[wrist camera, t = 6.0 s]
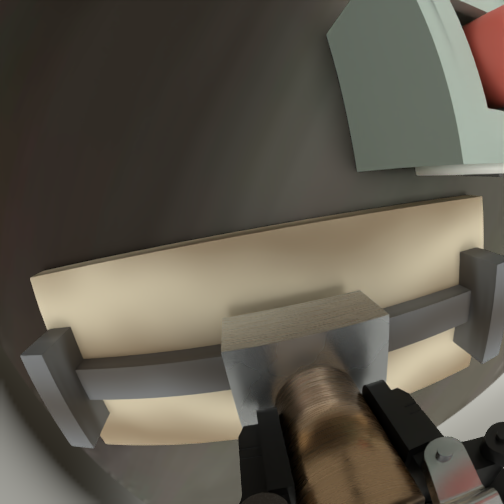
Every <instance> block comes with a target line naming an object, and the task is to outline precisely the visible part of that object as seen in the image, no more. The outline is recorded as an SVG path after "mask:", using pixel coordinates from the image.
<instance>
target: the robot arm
mask: <svg viewBox="0 0 504 504" xmlns="http://www.w3.org/2000/svg"><path fill="white" fill-rule="evenodd" d="M362 395H363V397H364V399H365V400H366V402H367V403H368V405H369V407H370V408H371V410H372V411H373V413H374V415H375V416H376V418H377V419H378V421H379V423H380V424H381V426H382V428H383V429H384V431H385V432H386V434H387V436H388V437H389V439H390V441H391V442H392V444H393V446H394V447H395V449H396V451H397V452H398V454H399V455H400V457H401V459H402V460H403V462H404V464H405V465H406V467H407V469H408V470H409V472H410V474H411V475H412V477H413V479H414V480H415V482H416V484H417V485H418V487H419V489H420V490H421V492H422V494H423V495H424V497H425V503H424V504H504V468H503V467H504V422H499V423H496V424H494V425H492V426H491V427H490V428H489V429H488V430H487V432H486V434H485V436H484V437H480V438H476V439H473V440H469V441H465V442H460V441H459V440H458V439H456V438H453V437H444V436H443V435H442V434H441V433H440V431H439V430H438V429H437V428H436V426H435V425H434V424H433V423H432V421H431V420H430V419H429V418H428V416H427V415H426V414H425V413H424V411H422V410H421V408H420V407H419V405H418V404H416V402H415V400H414V399H413V398H412V397H411V396H410V394H409V393H407V392H405V391H403V390H401V389H399V388H395V389H393V390H391V389H390V387H389V386H388V385H387V383H386V382H385V381H384V380H379V381H376V382H373V383H369V384H366V385H364V386H363V388H362ZM256 414H257V421H258V424H254V425H248V426H243V428H242V431H241V433H240V435H239V437H238V440H239V456H240V471H241V485H242V498H241V501H240V503H239V504H296V491H295V485H294V480H293V476H292V472H291V468H290V463H289V459H288V455H287V451H286V446H285V442H284V438H283V433H282V429H281V425H280V420H279V416H278V411H277V407H271V408H266V409H260V410H256Z"/></svg>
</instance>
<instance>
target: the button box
mask: <svg viewBox="0 0 504 504" xmlns="http://www.w3.org/2000/svg"><path fill="white" fill-rule="evenodd" d="M502 5H504V0H350V2H349V3H348V4H347V6H346V7H345V9H344V10H343V11H342V13H341V14H340V16H339V17H338V18H337V20H336V21H335V23H334V24H333V26H332V27H331V28H330V30H329V31H328V33H327V34H326V36H327V39H328V42H329V46H330V49H331V53H332V56H333V60H334V64H335V68H336V71H337V75H338V79H339V83H340V87H341V92H342V96H343V100H344V105H345V109H346V114H347V119H348V124H349V129H350V134H351V139H352V145H353V150H354V156H355V162H356V169H357V172H362V171H373V170H383V169H395V168H408V167H415V171H416V176H436V175H463V176H492V177H502V173H504V108H498V109H489V108H488V107H487V102H486V98H485V94H484V91H483V87H482V83H481V80H480V76H479V73H478V70H477V67H476V64H475V61H474V58H473V55H472V52H471V49H470V46H469V44H468V41H467V39H466V36H465V33H464V31H463V29H462V26H464V25H466V24H468V23H469V22H471V21H473V20H475V19H477V18H479V17H481V16H482V15H484V14H486V13H488V12H490V11H492V10H494V9H496V8H498V7H500V6H502Z"/></svg>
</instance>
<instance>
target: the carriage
mask: <svg viewBox="0 0 504 504" xmlns="http://www.w3.org/2000/svg"><path fill="white" fill-rule="evenodd" d="M388 347H389V314H388V313H387V312H386V311H385V310H383V309H382V308H381V307H380V306H378V305H377V304H376V303H375V302H374V301H372V300H371V299H370V298H369V297H367V296H366V295H365V294H364V293H363V292H361V291H360V290H358V291H353V292H349V293H345V294H341V295H336V296H332V297H327V298H323V299H318V300H314V301H309V302H305V303H300V304H295V305H290V306H285V307H280V308H275V309H270V310H265V311H260V312H254V313H249V314H243V315H238V316H232V317H226V318H222V340H221V354H222V358H223V362H224V366H225V369H226V373H227V377H228V380H229V384H230V388H231V391H232V395H233V399H234V402H235V406H236V409H237V413H238V416H239V419H240V423H241V426H242V428H243V426H248V425H254V424H258V421H257V414H256V410H260V409H266V408H271V407H277V411H278V416H279V420H280V425H281V429H282V433H283V438H284V442H285V446H286V451H287V455H288V459H289V463H290V468H291V472H292V476H293V480H294V485H295V491H296V504H424V503H425V497H424V495H423V494H422V492H421V490H420V489H419V487H418V485H417V484H416V482H415V480H414V479H413V477H412V475H411V474H410V472H409V470H408V469H407V467H406V465H405V464H404V462H403V460H402V459H401V457H400V455H399V454H398V452H397V451H396V449H395V447H394V446H393V444H392V442H391V441H390V439H389V437H388V436H387V434H386V432H385V431H384V429H383V428H382V426H381V424H380V423H379V421H378V419H377V418H376V416H375V415H374V413H373V411H372V410H371V408H370V407H369V405H368V403H367V402H366V400H365V399H364V397H363V395H362V388H363V386H364V385H366V384H369V383H373V382H376V381H379V380H384V381H385V382H386V379H387V365H388Z"/></svg>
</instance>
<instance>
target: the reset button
mask: <svg viewBox="0 0 504 504" xmlns="http://www.w3.org/2000/svg"><path fill="white" fill-rule="evenodd" d="M462 29H463V31H464V33H465V36H466V39H467V41H468V44H469V46H470V49H471V52H472V55H473V58H474V61H475V64H476V67H477V70H478V73H479V76H480V80H481V83H482V87H483V91H484V94H485V98H486V102H487V107H488V108H489V109H498V108H504V5H502V6H500V7H498V8H496V9H494V10H492V11H490V12H488V13H486V14H484V15H482V16H481V17H479V18H477V19H475V20H473V21H471V22H469V23H468V24H466V25H464V26H462Z"/></svg>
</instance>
